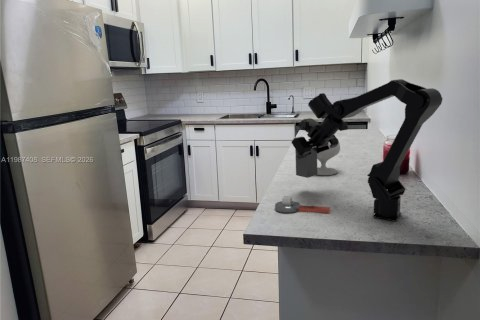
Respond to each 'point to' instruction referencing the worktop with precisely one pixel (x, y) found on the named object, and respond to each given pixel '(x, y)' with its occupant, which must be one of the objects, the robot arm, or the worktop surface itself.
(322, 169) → the chalice
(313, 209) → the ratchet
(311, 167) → the brushed metal block
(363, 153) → the worktop surface
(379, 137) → the worktop surface
